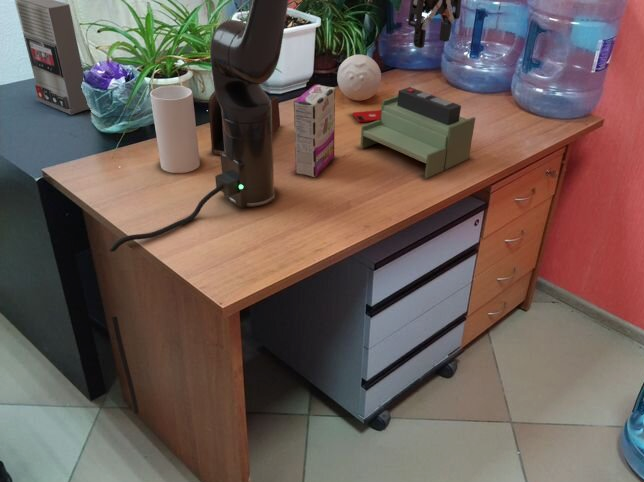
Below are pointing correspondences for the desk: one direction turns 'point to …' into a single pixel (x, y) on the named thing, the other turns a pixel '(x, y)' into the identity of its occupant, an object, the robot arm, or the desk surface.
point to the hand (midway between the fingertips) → (431, 43)
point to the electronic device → (367, 116)
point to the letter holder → (217, 127)
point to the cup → (175, 128)
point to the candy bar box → (314, 130)
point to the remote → (429, 105)
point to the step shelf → (420, 136)
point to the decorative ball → (359, 77)
